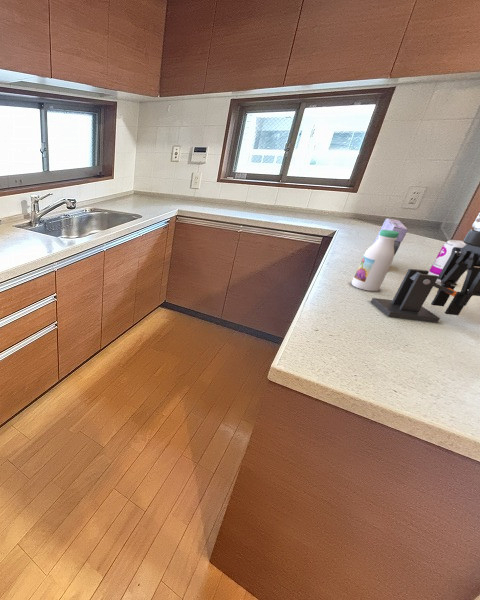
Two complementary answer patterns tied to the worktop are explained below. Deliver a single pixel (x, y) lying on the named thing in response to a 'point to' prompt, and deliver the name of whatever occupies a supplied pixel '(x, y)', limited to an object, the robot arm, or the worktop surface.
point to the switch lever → (438, 286)
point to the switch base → (410, 298)
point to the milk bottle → (376, 262)
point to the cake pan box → (394, 226)
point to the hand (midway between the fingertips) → (444, 309)
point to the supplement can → (444, 257)
